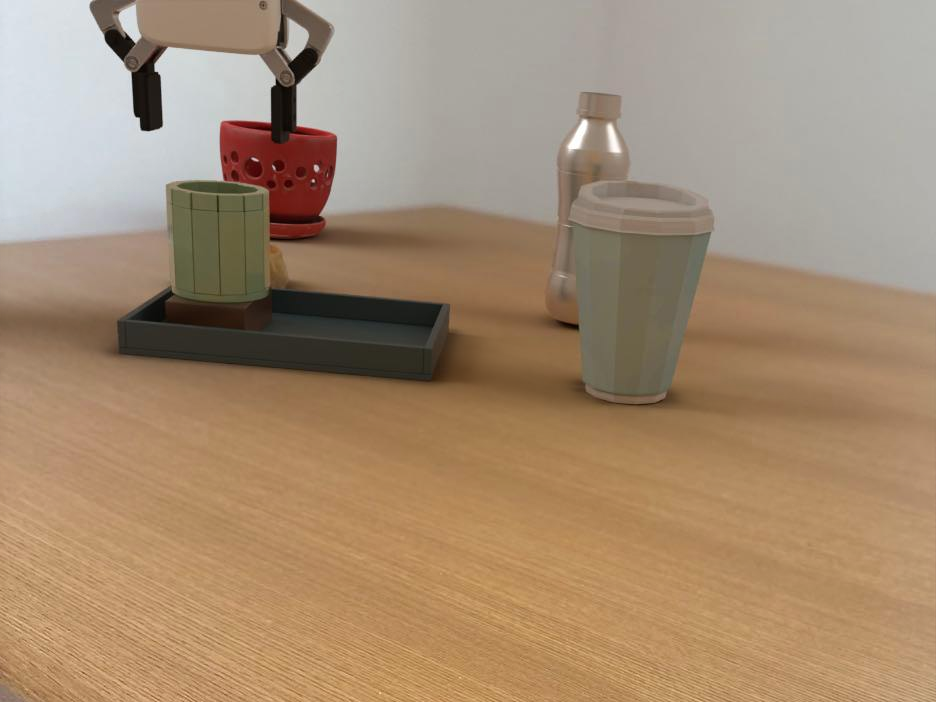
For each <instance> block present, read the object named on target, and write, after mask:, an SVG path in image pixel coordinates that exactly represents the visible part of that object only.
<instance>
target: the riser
mask: <svg viewBox="0 0 936 702" xmlns="http://www.w3.org/2000/svg"><path fill="white" fill-rule="evenodd" d="M165 305H166V323H171V324H182V325H193V326H204V327H215V328H226V329H237V330H249V331H261V330H262V329H263V328H264V327H265V326H266V325H267V324H268V323H269V322H270V321H271V320H272V285H271V284H270V286H269V294H268V296H267V297H265V298H263V299H259V300H255V301H249V302H239V303H215V302H203V301H196V300H191V299H186V298H183V297H180V296H177V295H174V296H172V297H171V298H169V299H168V300H167V301H166V302H165Z"/></svg>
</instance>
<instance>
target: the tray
mask: <svg viewBox="0 0 936 702" xmlns="http://www.w3.org/2000/svg"><path fill="white" fill-rule="evenodd" d="M174 295H175V294H174V293H173V292H172V284H170V285H169V286H167V287H166V288H164V289H162V290H161V291H159V292H158V293H157V294H155V295H154V296H152V297H150V298H149V299H148V300H146V301H145V302H143V303H141V304H140V305H138V306H137V307H135V308H134V309H132V310H131V311H130V312H128V313H126V314H125V315H123V316H122V317H120V318H119V319H117V320H116V328H117V329H116V330H117V341H118V342H117V345H118V354H120V355H121V354H122V355H131V356H143V357H154V358H166V359H176V360H186V361H189V360H190V361H199V362H210V363H220V364H231V365H232V364H233V365H242V366H255V367H266V368H277V369H287V370H299V371H309V372H311V371H312V372H322V373H332V374H333V373H334V374H342V375H343V374H344V375H353V376H367V377H376V378H377V377H378V378H387V379H400V380H410V381H421V382H422V381H423V382H431V381H432V379H433V376H434V373H435V370H436V367H437V364H438V362H439V359H440V356H441V353H442V351H443V348H444V346H445V344H446V340H447V337H448V335H449V332H450V314H451V313H450V312H451V304H450V303H447V302H444V303H443V302H438V301H437V302H436V301H425V300H424V301H423V300H415V299H404V298H394V297H393V298H391V297H380V296H371V295H359V294H349V293H338V292H337V293H336V292H328V291H327V292H325V291H314V290H303V289H292V288H285V289H283V288H272V320H271V321H270V322H269V323H268V324H267V325H266V326H265V327H264V328H263V329H262V330H261V331H249V330H237V329H226V328H215V327H204V326H193V325H182V324H171V323H166V305H165V302H166V301H167V300H168V299H169V298H171V297H172V296H174Z"/></svg>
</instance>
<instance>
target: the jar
mask: <svg viewBox="0 0 936 702" xmlns="http://www.w3.org/2000/svg"><path fill="white" fill-rule="evenodd" d="M165 201H166V202H165V204H166V224H167V225H166V226H167V247H168V248H167V249H168V264H169V265H168V266H169V268H168V270H169V283H170V285H172V292H173V293H174V294H175V295H177V296H180V297H183V298H186V299H191V300H196V301H203V302H215V303H239V302H249V301H255V300H259V299H263V298H265V297H267V296H268V294H269V286H270V245H271V238H270V221H269V190H268V189H266V188H264V187H261V186H257V185H252V184H246V183H240V182H230V181H224V180H215V179H214V180H213V179H212V180H211V179H194V180H193V179H190V180H189V179H188V180H187V179H186V180H176V181H171V182H169V183H167V184H165Z"/></svg>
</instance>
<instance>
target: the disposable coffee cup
mask: <svg viewBox="0 0 936 702" xmlns="http://www.w3.org/2000/svg"><path fill="white" fill-rule="evenodd" d="M709 207H710V205H709V200H708V198H707V197H705V196H702V195H701V194H698V193H696V192H695V191H692V190H690V189H687V188H682V187H678V186H674V185H671V184H666V183H662V182H649V181H636V180H627V181H597V182H594V183H590V184H586V185H583V186H581V188H580V191H579V194H578V199H575V200H574V201H573V203H572V205H571V209H570V216H569V218H568V220H571V221H572V225H573V240H574V256H575V271H576V286H577V302H578V317H579V326H578V330H579V331H578V332H579V344H580V346H579V347H580V362H581V374H582V377H581V378H582V382H583V383H584V384H585V392H586V393H587V394H590V395H591V396H592V397H594V398H596V399H599V400H603V401H607V402H610V403H615V404H627V405H644V404H655V403H657V402H659V401H661V400H662V401H663V400H664V399H666V396H667V393H668V391H669V390H671V389H672V384H673V380H674V376H675V372H676V369H677V366H678V365H677V364H678V361H679V358H680V354H681V350H682V346H683V342H684V339H685V335H686V330H687V327H688V322H689V319H690V316H691V312H692V308H693V305H694V300H695V296H696V293H697V290H698V289H697V288H698V285H699V281H700V277H701V274H702V269H703V265H704V262H705V259H706V254H707V250H708V246H709V244H710V243H709V242H710V239H711V235H712V232H715V230H716V229H715V216H714V212H713V210H712V209H711V208H709Z"/></svg>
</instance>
